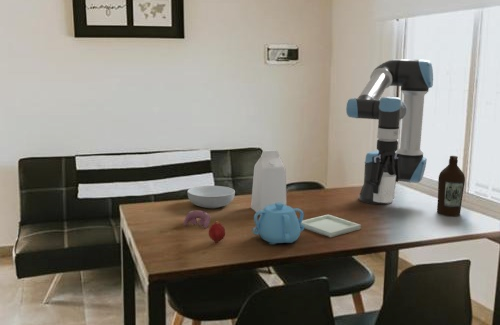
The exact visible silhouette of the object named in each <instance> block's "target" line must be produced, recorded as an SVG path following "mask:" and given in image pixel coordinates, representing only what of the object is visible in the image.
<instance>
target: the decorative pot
mask: <svg viewBox="0 0 500 325" xmlns="http://www.w3.org/2000/svg"><path fill="white" fill-rule="evenodd" d="M296 212H299V213H300V216H299V218H298V216H297V214H296ZM259 214H261V215H259ZM258 216H259V217H258ZM304 216H305V215H304V211H303V210H302V209H300V208H298V207H296V208H295V207H294V208H293V207H291V206H289V205H287V204H286V205H284V203H280V202H278V203H275V205H274V204H271V205H269V206H266V207H265V208H264V209H263V210H261V211H258V212H256V211H255V213H254V215H253V221H254V224H255V226H254V227H253V228H252V234H253V235H257V236H258V235H259V236H260V238H261V239H262V240H264V241H266V242H268V244H269V245H277V244H283V243H286V244H293V243H294V242H296V241H297V240H298V238H299V237H300V235H301V232H303V231H304V230H305V228H304V225H303V224H301V223H302V221H303V220H304ZM300 226H302V227H300Z"/></svg>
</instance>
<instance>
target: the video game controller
mask: <svg viewBox="0 0 500 325" xmlns="http://www.w3.org/2000/svg"><path fill="white" fill-rule="evenodd" d="M211 218H212V216H211V215H210V214H209V213H207V212H206V211H203V210H197V209H196V210H190V211H189V212H187V214H186V215H185V218H184V220H183V227H186V226H188V225H189V223H190V224H191V225H193V226H196V225H198V226H201V227H203V229H204V230H206V229H207V228H208V227H209V224H210V221H211ZM198 219H200V220H198Z"/></svg>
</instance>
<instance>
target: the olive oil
mask: <svg viewBox="0 0 500 325" xmlns="http://www.w3.org/2000/svg"><path fill="white" fill-rule="evenodd" d="M458 160H459V159H458V156H457V155H450V156H449V160H448V165H447V166H446V167H444V168H443V169H442V170H441V171H440V173H439V175H438V181H437V182H438V183H437V184H438V185H437V191H438V192H437V207H436V208H437V209H436V211H437V214H439V215H442V216H447V217H457V216H458V217H459V216H461V211H462V203H463V197H464V196H463V194H464V189H465V184H466V183H465V182H466V177H465V173H464V172H463V171H462V170H461V168H460V167H459V166H458Z"/></svg>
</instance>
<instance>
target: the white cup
mask: <svg viewBox="0 0 500 325" xmlns="http://www.w3.org/2000/svg"><path fill="white" fill-rule="evenodd" d="M395 181H396V175H395V174H394V175H390V174H388V173H385V172H383V176H382V179H381V182H380V185H381V198H380V202H381V203H389V204H391V203H390V202H392V203H393V202H394V199H393V195H394V196H395V193H394V189H395V190H396V184H395ZM377 182H378V181H377Z"/></svg>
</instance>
